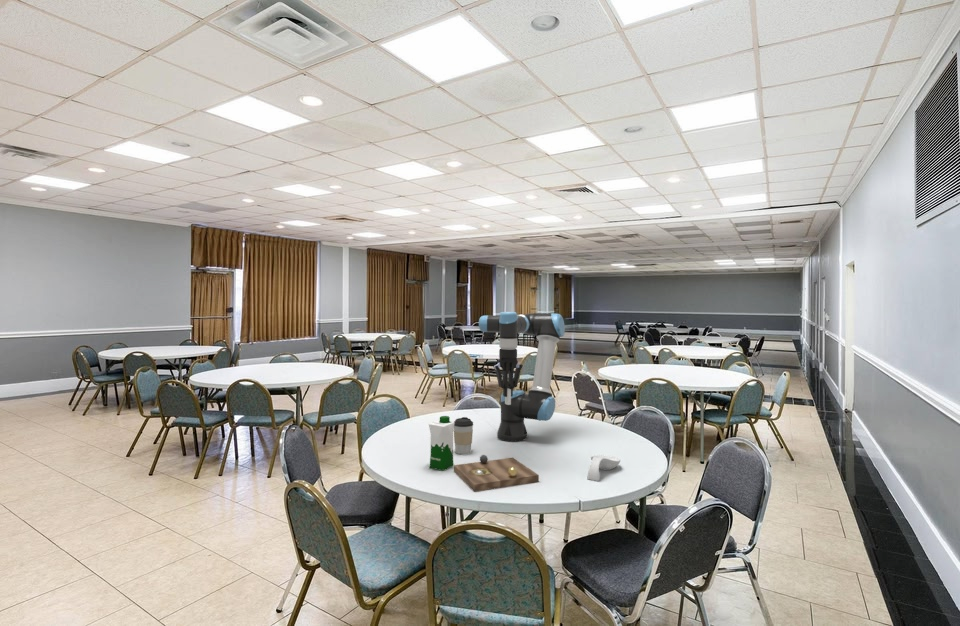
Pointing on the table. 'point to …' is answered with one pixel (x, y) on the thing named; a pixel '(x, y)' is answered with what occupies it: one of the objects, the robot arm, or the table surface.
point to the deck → (494, 474)
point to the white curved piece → (601, 465)
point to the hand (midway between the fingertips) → (507, 404)
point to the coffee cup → (463, 435)
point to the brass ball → (512, 471)
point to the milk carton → (441, 443)
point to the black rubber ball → (483, 459)
